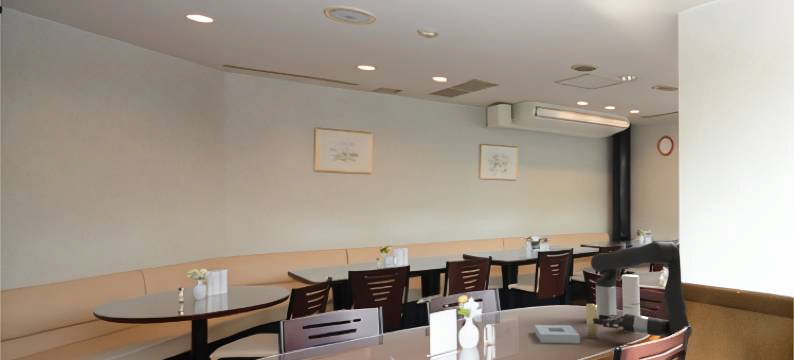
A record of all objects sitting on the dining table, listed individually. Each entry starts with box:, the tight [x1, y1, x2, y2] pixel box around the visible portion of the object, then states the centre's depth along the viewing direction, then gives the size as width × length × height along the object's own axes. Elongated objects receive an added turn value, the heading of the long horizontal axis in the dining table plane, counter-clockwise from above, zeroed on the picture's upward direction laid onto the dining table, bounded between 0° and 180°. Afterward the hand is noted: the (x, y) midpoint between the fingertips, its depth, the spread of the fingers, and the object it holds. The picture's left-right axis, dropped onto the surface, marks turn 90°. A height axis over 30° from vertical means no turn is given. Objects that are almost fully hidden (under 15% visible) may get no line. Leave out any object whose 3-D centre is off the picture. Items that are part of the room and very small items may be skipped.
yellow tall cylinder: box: [585, 303, 599, 339], centre depth 223 cm, size 4×4×14 cm
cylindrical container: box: [621, 274, 641, 331], centre depth 234 cm, size 7×7×25 cm
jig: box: [534, 324, 581, 344], centre depth 222 cm, size 16×16×4 cm
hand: (596, 319), depth 222 cm, fingers open, 8 cm apart
